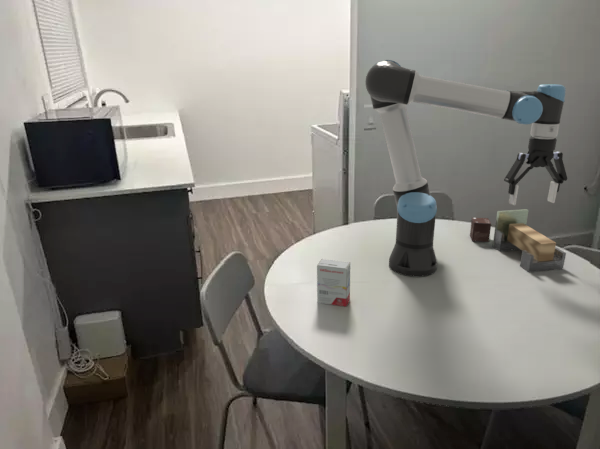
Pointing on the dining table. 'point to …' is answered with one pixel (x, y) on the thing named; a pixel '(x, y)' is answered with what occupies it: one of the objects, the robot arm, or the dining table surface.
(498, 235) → the cup bracket
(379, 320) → the dining table surface
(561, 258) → the rest saddle
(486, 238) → the box
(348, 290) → the ink box
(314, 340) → the dining table surface
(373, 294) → the dining table surface
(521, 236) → the light wood long block
